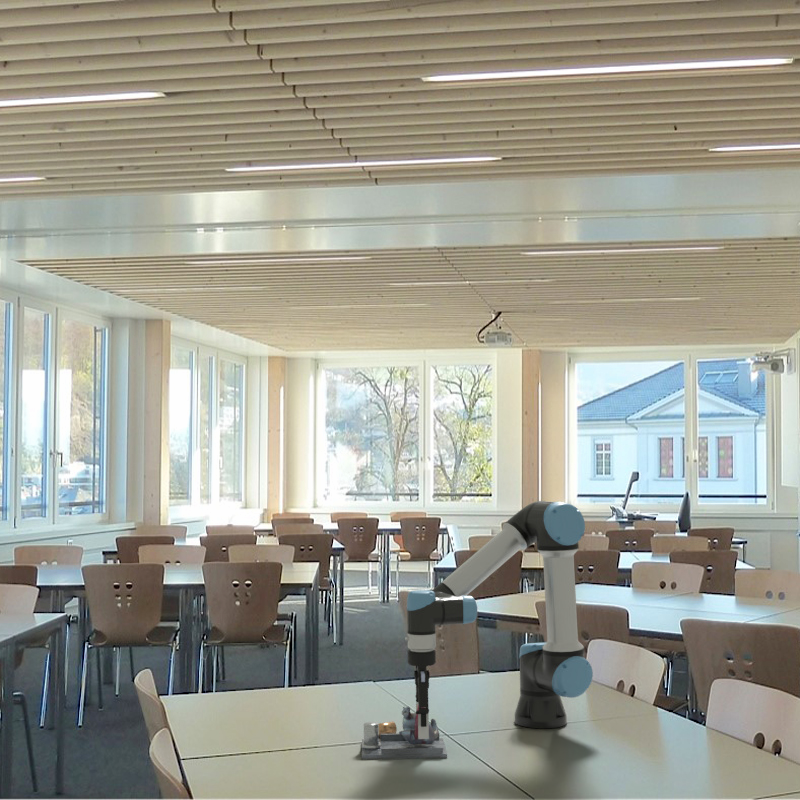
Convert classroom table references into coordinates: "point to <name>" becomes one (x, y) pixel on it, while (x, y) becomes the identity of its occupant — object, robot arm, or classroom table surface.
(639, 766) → the classroom table surface
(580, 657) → the robot arm
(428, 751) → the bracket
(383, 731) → the golden brown rounded block
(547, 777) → the classroom table surface
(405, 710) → the brake caliper
